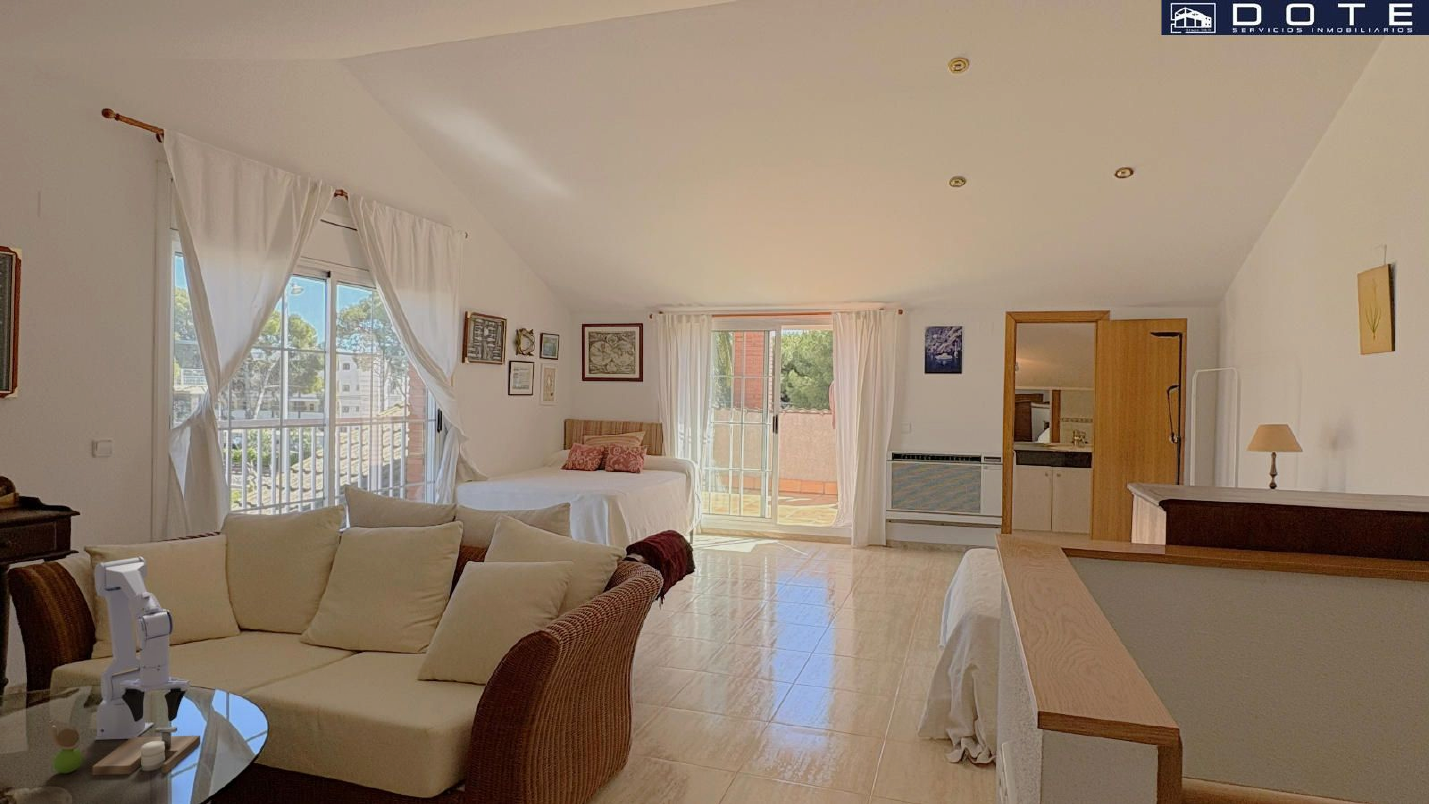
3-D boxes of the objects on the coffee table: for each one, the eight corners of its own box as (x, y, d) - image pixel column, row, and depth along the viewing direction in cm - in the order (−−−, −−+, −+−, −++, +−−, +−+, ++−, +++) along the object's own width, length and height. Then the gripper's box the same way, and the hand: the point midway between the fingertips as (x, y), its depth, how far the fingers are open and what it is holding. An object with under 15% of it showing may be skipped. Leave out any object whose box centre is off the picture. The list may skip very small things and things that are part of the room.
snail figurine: (59, 766, 185) (58, 715, 184) (88, 765, 185) (87, 715, 184) (42, 778, 179) (40, 726, 178) (72, 777, 180) (70, 726, 179)
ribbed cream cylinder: (136, 771, 183) (136, 750, 183) (148, 761, 188) (148, 740, 187) (158, 770, 183) (157, 749, 183) (169, 760, 188) (169, 740, 188)
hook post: (154, 750, 189) (154, 730, 189) (159, 746, 191) (158, 726, 190) (174, 749, 189) (173, 729, 189) (178, 745, 191) (178, 726, 191)
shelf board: (92, 775, 181) (92, 766, 181) (131, 745, 195) (131, 737, 195) (166, 772, 183) (166, 764, 182) (200, 743, 196) (200, 735, 196)
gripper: (110, 670, 183) (111, 727, 184) (177, 670, 184) (178, 726, 185) (130, 658, 190) (131, 714, 191) (194, 658, 191) (195, 713, 192)
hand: (155, 719), depth 188 cm, fingers open, 7 cm apart
